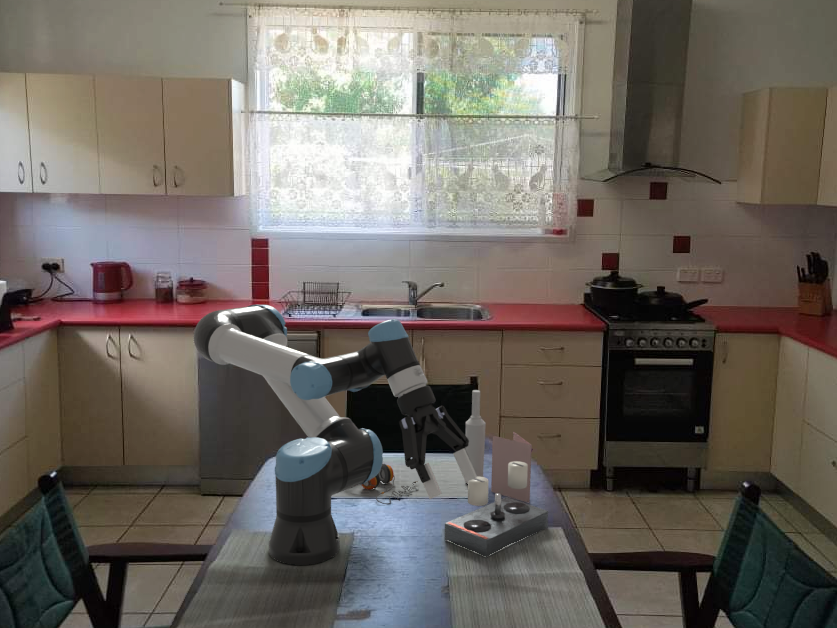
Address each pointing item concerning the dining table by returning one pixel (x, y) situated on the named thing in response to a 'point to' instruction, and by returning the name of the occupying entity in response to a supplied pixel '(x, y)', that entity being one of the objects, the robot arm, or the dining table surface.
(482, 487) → the knob near
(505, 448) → the greeting card
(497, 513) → the potentiometer stem
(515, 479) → the knob far
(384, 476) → the headphones
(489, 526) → the mount
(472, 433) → the bottle
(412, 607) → the dining table surface
